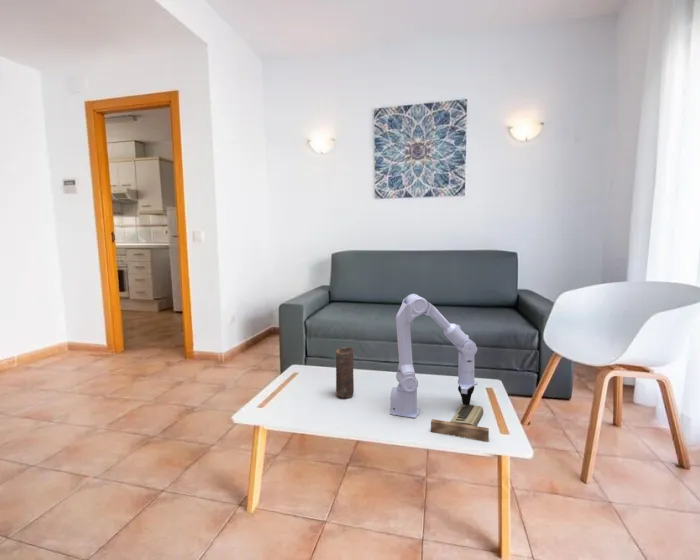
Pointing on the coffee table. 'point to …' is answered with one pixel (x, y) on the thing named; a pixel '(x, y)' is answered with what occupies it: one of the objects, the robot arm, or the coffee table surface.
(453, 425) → the bar
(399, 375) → the robot arm
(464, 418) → the computer
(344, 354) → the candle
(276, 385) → the coffee table surface
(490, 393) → the coffee table surface
